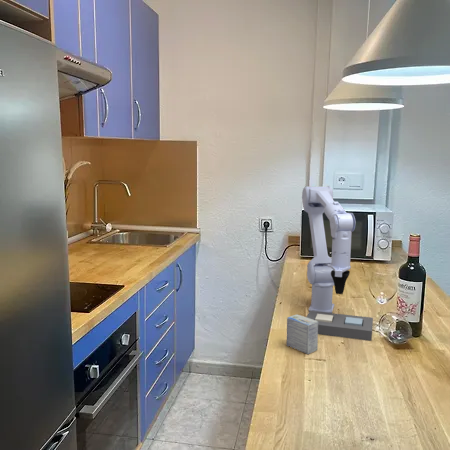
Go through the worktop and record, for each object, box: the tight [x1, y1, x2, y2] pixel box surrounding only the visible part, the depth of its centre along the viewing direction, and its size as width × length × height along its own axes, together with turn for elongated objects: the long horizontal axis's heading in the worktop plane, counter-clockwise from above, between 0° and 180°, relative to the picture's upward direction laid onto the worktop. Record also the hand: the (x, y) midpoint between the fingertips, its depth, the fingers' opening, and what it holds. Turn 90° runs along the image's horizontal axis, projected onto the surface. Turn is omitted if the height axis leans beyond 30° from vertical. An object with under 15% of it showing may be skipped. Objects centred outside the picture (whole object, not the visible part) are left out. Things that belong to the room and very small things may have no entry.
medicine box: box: [286, 314, 319, 355], centre depth 131 cm, size 8×4×9 cm, turn 41°
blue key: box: [345, 317, 363, 326], centre depth 144 cm, size 5×5×3 cm
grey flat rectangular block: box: [306, 310, 374, 342], centre depth 145 cm, size 12×20×3 cm, turn 71°
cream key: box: [315, 314, 333, 323], centre depth 147 cm, size 5×5×3 cm
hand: (339, 293), depth 148 cm, fingers closed
